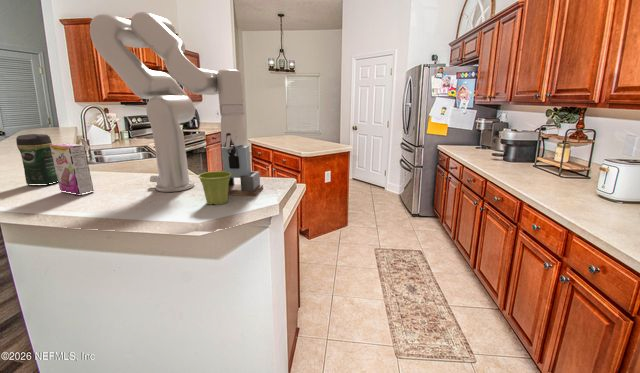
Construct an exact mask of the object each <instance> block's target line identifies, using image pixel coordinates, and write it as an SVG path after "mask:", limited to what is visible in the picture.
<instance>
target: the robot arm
mask: <svg viewBox="0 0 640 373" xmlns="http://www.w3.org/2000/svg"><path fill="white" fill-rule="evenodd" d="M89 34H90V39H91V42H92V45H93V46H94V48H95V50H96V51H97V53H98V54H99V55H100V56H101V58H102V59H103V60H104V61H105V62H106V63H107V64H108V65H109V66H110V67H111V68H112V69H113V70H114V72H116V74H117V75H118V76H119V78H121V80H122V81H123V83H125V85H126V86H127V88H129V90H131V92H132V93H133V94H134V95H135V96H136V97H138V98H139V99H143V100H148V102H147V104H146V107H145V108H146V109H145V110H146V115H147V116H146V117H147V119H148V121H149V124H150V127H151V131H152V132H151V133H152V137H153V144H154V150H155V157H156V165H157V171H158V175H151V176H150V178H149V182H150V183H156V185H155V190H156V191H158V192H163V193H164V192H165V193H172V192H181V191H186V190H189V189H191V188H194V187H195V182H194V181H192V180H190V176H189V168H188V160H187V151H186V142H185V136H184V133H183V130H182V127H181V126H180V124H183V123H187V122H190V121H192V120H193V118H194V117H195V115H196V107H195V104H194V102H193V100H192V99H191V98H190V97H189V95H188V94H187V93H186V92H185V90H183V88H184V89H186V90H187V91H188V92H189V93H192V94H194V95H199V96H200V95H204V96H205V95H207V96H214V95H217V96H218V103H219V114H220V115H219V116H220V139H221V147H226V151H227V152H228V157H229V168H230V169H239V156H237V147H238V146H244V144H245V143H246V132H245V131H246V130H245V124H244V122H245V121H244V117H243V116H245V115H246V114H245V104H244V90H243V77H242V73H241V71H240V70H239V69H238V70H237V69H229V68H228V69H219V70H218V71H217V70H210V69H205V68H199V67H197V66H196V65H195V64H194V63H193V62H192V61H190V60H189V59H188V58H187V57H186V56H185V52H186V51H185V50H186V45H185V43H184V41H183V40H182V39H181V38H179V37H178V36H177V35H176V34H177V33H176V29H175V26H174V25H173V23H172V22H171V21H170V20H168V19H167V18H164V17H162V16H159V15H157V14H153V13H151V12H146V11H140V12H136V13H135V14H133V15H132V17H131V18H130V19H128V18H123V17H121V16H119V15H118V16H117V15H114V14H108V13H106V14H105V13H103V14H98V15H95V16H94V17H92V19H91V21H90V24H89ZM127 47H128V48H127ZM129 47H130V48H135V49H142V48H143V49H145V48H149V49H150V50H152V51H153V52H154V53H155V54H156V55H157V56H158V57H159V58H160V59H161V60H162V61H163V62H164V65H165V68H166V69H167V72H168V73H169V74H168V73H166V72H164V71H160V70H152V69H149V67H147V66H146V64H144V62H142V60H140V58H139V57H138V56H137V55H136V54H135V53H134V52H133V51H132V50H130V49H129ZM179 84H180V85H179ZM181 86H182V87H183V88H182V87H181ZM231 146H235V147H231ZM233 149H234V150H233Z"/></svg>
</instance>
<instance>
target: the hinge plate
mask: <svg viewBox="0 0 640 373" xmlns="http://www.w3.org/2000/svg"><path fill="white" fill-rule="evenodd" d="M234 184H235V183H234ZM262 190H264V184H260V186H259V187H258V188H257V189H256V190H255V191H241V183H240V184H239V183H237V184H235V185H234V186H229V187H228V196H251V197H252V196H253V197H255V196H257V195H259V193H260V192H261V191H262Z"/></svg>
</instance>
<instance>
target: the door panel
mask: <svg viewBox="0 0 640 373" xmlns="http://www.w3.org/2000/svg"><path fill="white" fill-rule="evenodd" d="M231 147H235V146H233V145H231ZM220 150H221V158H222V160H221V161H222V168H223V170H222V171H224V172H229V173H231V176H230V178H234V179H239V178H240V176H251V171H252V166H251V154H250V146H249V145H243V146H238V147H237V156H239V169H230V168H229V157H228V152H227V151H226V147H223V146H221V149H220ZM233 150H234V149H233Z"/></svg>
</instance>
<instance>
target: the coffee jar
mask: <svg viewBox="0 0 640 373" xmlns="http://www.w3.org/2000/svg"><path fill="white" fill-rule="evenodd" d="M15 141H16V147H17V149H18V151H19V152H20V157H21V161H22V165H23V169H24V176H25V182H26V185H27V184H49V183H53V182H57V181H58V179H57V174H56V170H55V166H54V162H53V158H52V154H51V149H50V145H52V144H53V143H52V139H51V137H50V136H49V135H48V134H41V133H40V134H39V133H29V134H21V135H17V137H16V138H15Z"/></svg>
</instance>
